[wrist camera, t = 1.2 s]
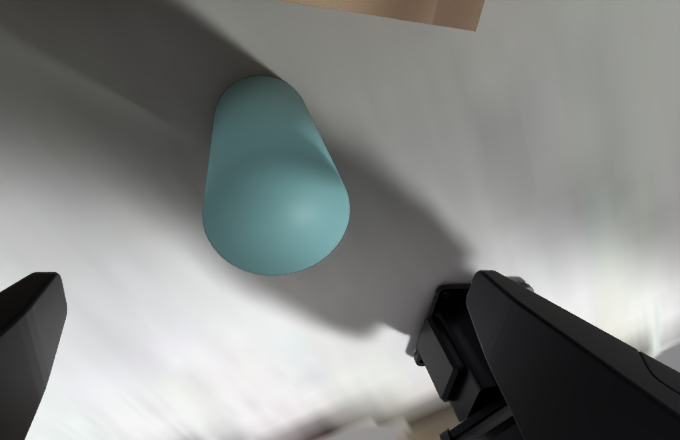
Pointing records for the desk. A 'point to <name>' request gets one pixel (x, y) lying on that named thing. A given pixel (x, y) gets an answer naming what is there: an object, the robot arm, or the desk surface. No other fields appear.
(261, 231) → the teal rounded cylinder
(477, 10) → the socket block
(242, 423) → the desk surface
